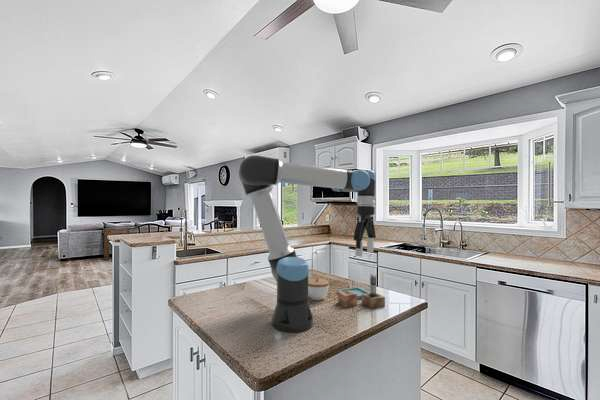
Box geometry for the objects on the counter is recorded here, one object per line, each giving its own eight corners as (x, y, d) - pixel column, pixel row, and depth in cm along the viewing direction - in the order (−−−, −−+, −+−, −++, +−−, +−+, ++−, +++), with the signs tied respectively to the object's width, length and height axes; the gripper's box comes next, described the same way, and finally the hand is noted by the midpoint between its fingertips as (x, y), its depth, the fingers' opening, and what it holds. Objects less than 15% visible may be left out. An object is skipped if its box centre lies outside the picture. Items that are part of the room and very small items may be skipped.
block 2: (371, 308, 123) (371, 298, 123) (361, 303, 129) (361, 294, 129) (384, 306, 125) (384, 296, 125) (374, 301, 132) (374, 292, 132)
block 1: (345, 307, 124) (345, 295, 124) (338, 302, 130) (338, 291, 130) (357, 305, 126) (357, 293, 126) (349, 301, 132) (349, 290, 132)
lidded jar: (328, 294, 140) (328, 275, 140) (328, 302, 130) (328, 281, 130) (306, 294, 141) (306, 274, 141) (304, 301, 131) (304, 280, 131)
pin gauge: (372, 306, 125) (372, 275, 125) (368, 304, 128) (369, 274, 128) (377, 305, 126) (377, 275, 126) (373, 303, 129) (373, 274, 129)
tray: (350, 300, 133) (350, 296, 133) (337, 292, 144) (337, 289, 144) (372, 297, 137) (372, 293, 137) (358, 289, 148) (358, 286, 148)
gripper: (363, 205, 115) (362, 259, 115) (383, 206, 136) (382, 251, 136) (346, 205, 119) (345, 257, 119) (367, 205, 140) (366, 249, 140)
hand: (364, 254), depth 127 cm, fingers open, 13 cm apart
